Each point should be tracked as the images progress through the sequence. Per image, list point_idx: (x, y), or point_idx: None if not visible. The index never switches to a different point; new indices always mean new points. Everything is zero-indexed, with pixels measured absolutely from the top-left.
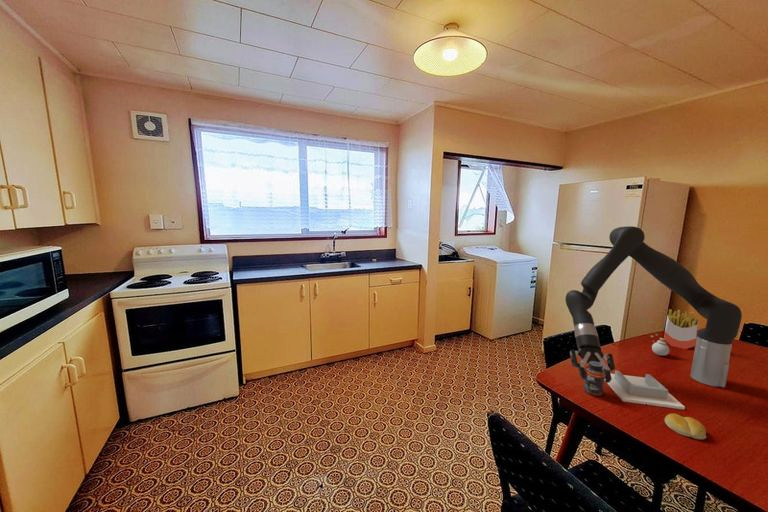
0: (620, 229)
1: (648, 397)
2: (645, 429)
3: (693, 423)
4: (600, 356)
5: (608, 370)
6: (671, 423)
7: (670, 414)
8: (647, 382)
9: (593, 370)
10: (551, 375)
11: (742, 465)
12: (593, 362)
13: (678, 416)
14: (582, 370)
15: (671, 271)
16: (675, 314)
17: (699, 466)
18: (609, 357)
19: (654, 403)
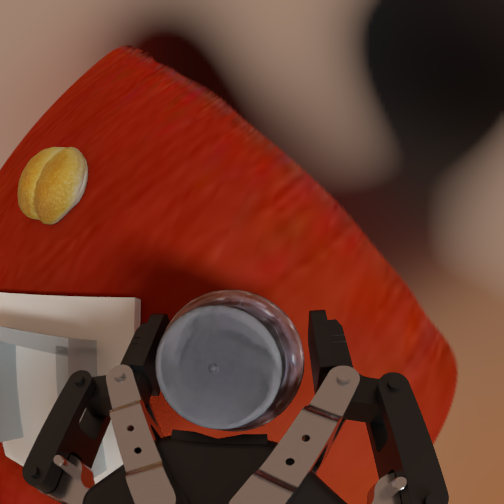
0: None
1: (44, 330)
2: (162, 141)
3: (38, 158)
4: (121, 482)
5: (123, 365)
6: (79, 163)
7: (54, 190)
8: (15, 422)
9: (259, 318)
10: None
11: (56, 113)
12: (233, 391)
13: (45, 176)
14: (332, 357)
15: None
16: None
17: (134, 73)
18: (52, 454)
19: (46, 296)
